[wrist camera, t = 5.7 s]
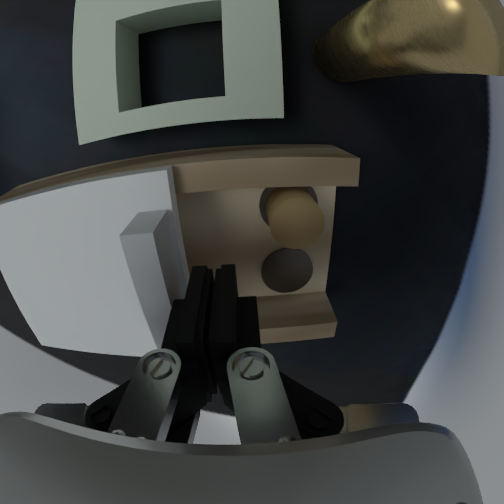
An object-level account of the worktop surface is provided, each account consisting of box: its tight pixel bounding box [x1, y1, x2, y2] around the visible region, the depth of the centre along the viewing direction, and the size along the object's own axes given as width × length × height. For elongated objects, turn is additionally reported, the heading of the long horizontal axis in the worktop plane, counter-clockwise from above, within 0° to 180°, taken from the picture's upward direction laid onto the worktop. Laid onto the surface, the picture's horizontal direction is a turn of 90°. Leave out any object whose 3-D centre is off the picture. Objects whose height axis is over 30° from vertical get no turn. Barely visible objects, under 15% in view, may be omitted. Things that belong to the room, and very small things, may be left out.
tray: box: [0, 144, 360, 344], centre depth 14 cm, size 10×20×4 cm, turn 92°
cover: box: [0, 165, 190, 357], centre depth 11 cm, size 10×12×3 cm
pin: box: [312, 0, 504, 83], centre depth 7 cm, size 3×3×10 cm
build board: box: [73, 0, 284, 145], centre depth 8 cm, size 13×9×3 cm
